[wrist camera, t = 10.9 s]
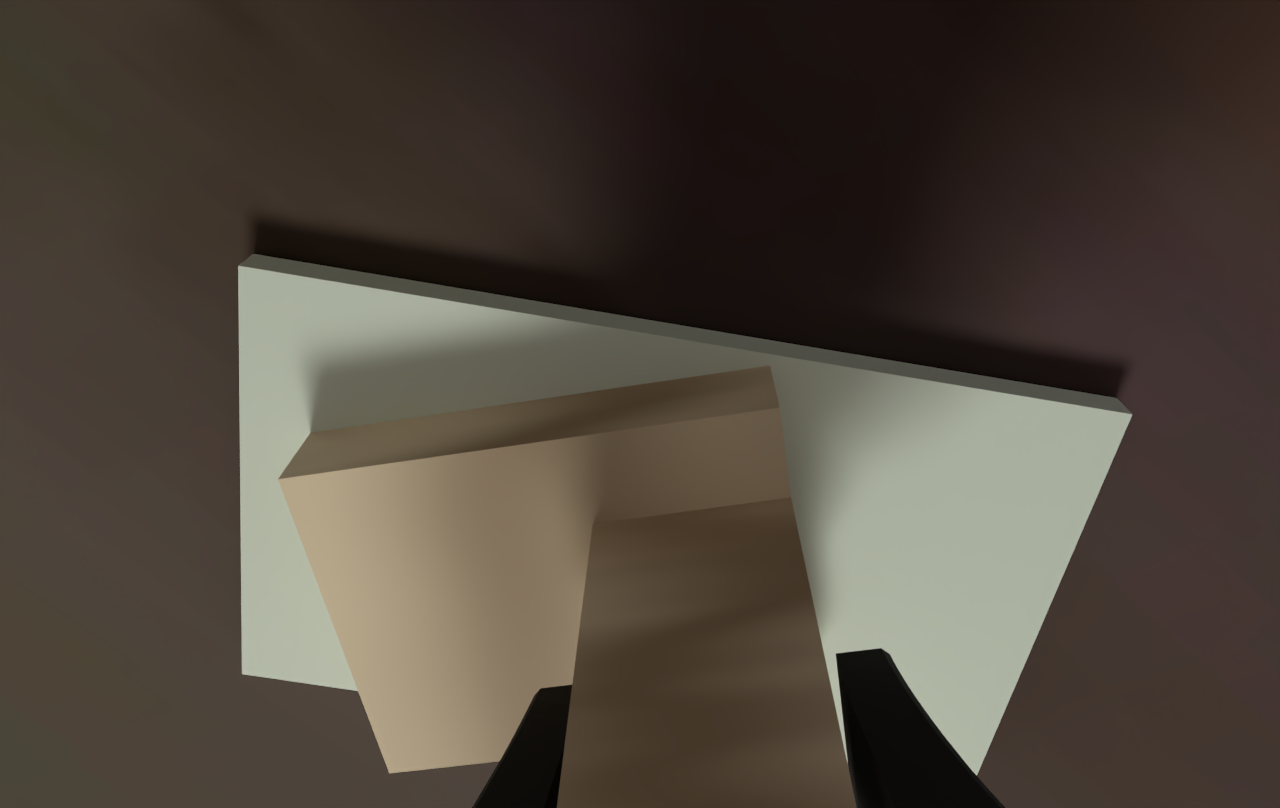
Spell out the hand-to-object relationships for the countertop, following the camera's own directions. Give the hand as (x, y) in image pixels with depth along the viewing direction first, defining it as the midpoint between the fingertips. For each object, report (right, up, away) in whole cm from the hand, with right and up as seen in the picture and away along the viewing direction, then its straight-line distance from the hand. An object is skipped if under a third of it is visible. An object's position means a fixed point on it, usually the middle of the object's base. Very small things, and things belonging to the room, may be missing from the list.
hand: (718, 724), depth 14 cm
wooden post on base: (-2, +2, +3) cm, 4 cm away
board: (-1, +2, +4) cm, 5 cm away
